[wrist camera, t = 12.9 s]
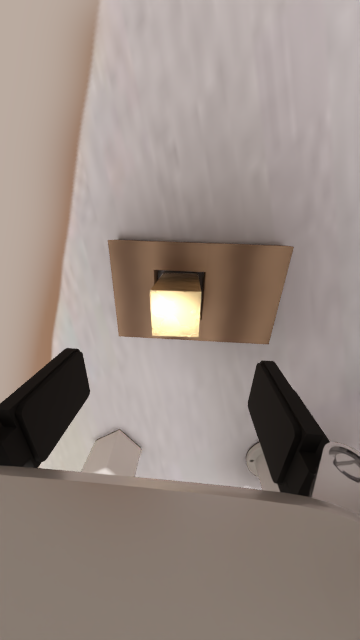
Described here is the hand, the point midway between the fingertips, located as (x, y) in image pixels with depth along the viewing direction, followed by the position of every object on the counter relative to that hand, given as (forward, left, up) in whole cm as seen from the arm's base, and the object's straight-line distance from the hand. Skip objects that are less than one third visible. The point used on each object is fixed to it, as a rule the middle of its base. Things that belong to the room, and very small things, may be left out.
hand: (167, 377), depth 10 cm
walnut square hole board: (-2, 0, -17) cm, 17 cm away
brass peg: (0, 0, -17) cm, 17 cm away
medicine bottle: (+12, +34, -17) cm, 40 cm away
